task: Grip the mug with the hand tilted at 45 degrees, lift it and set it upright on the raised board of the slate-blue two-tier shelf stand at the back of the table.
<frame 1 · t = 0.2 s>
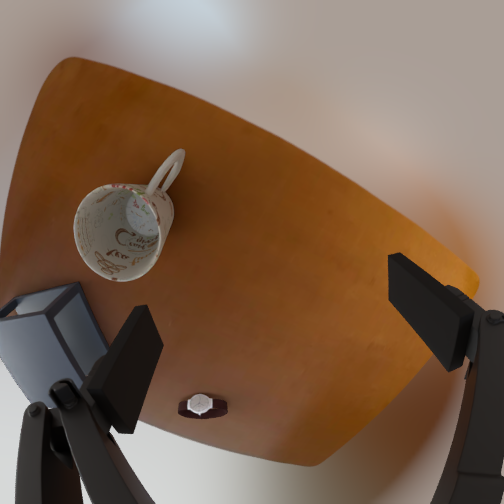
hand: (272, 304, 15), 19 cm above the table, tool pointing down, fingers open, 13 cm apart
shelf: (63, 333, 37), on the table
mug: (158, 195, 32), on the table
watch: (203, 401, 42), on the table
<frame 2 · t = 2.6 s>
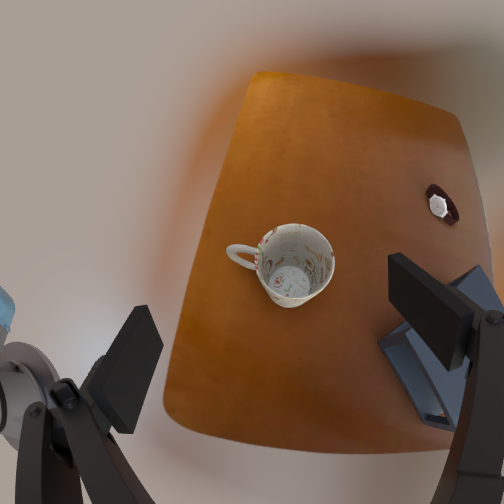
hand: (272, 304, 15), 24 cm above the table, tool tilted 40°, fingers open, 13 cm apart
shelf: (439, 353, 34), on the table
mug: (274, 281, 40), on the table
watch: (439, 208, 43), on the table
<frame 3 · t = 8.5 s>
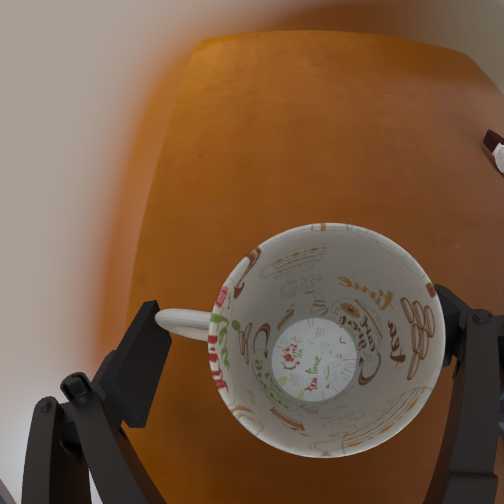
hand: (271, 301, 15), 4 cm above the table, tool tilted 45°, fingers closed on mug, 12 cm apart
mug: (282, 357, 19), on the table, touching gripper
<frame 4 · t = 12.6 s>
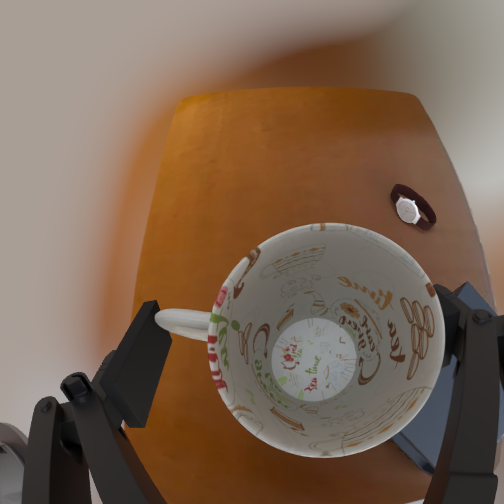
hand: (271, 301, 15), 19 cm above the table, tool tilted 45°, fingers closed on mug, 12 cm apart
shelf: (433, 390, 27), on the table
mug: (281, 357, 19), point 14 cm above the table, touching gripper
watch: (410, 212, 37), on the table
when the fingers open (13 cm above the table, at t = 16.5 s): mug stays where it is, resting on shelf.
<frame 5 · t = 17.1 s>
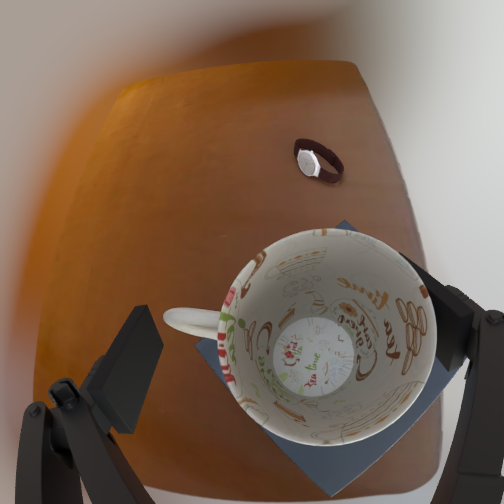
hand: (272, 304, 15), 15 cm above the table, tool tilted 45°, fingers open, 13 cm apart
shelf: (329, 364, 27), on the table
mug: (282, 354, 19), point 9 cm above the table, touching shelf
watch: (317, 167, 37), on the table
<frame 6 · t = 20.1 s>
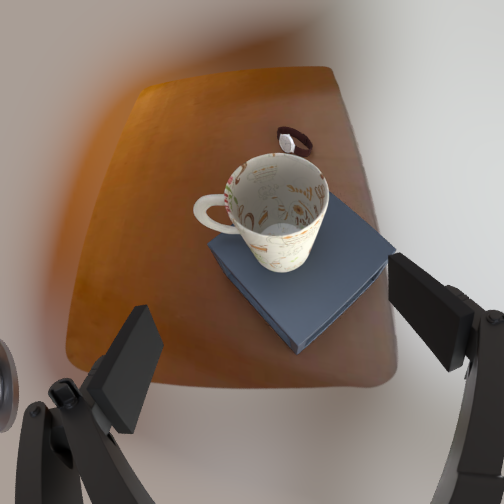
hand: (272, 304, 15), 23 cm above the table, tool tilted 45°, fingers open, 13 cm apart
shelf: (301, 276, 40), on the table
mug: (262, 246, 33), point 9 cm above the table, touching shelf
watch: (294, 147, 50), on the table
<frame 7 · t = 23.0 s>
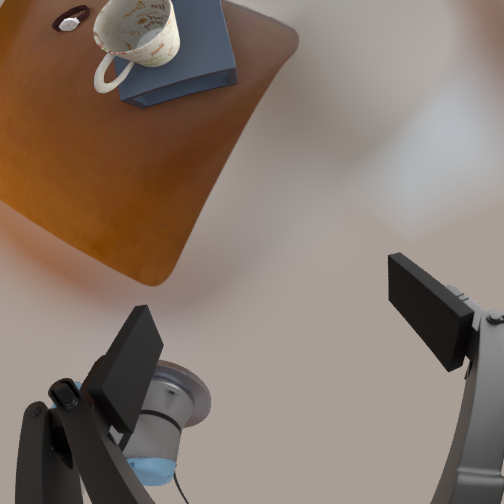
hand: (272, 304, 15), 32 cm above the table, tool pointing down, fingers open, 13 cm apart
shelf: (180, 53, 37), on the table
mug: (147, 60, 30), point 9 cm above the table, touching shelf
watch: (74, 20, 33), on the table
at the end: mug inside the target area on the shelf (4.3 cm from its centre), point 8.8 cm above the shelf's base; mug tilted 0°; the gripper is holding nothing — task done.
